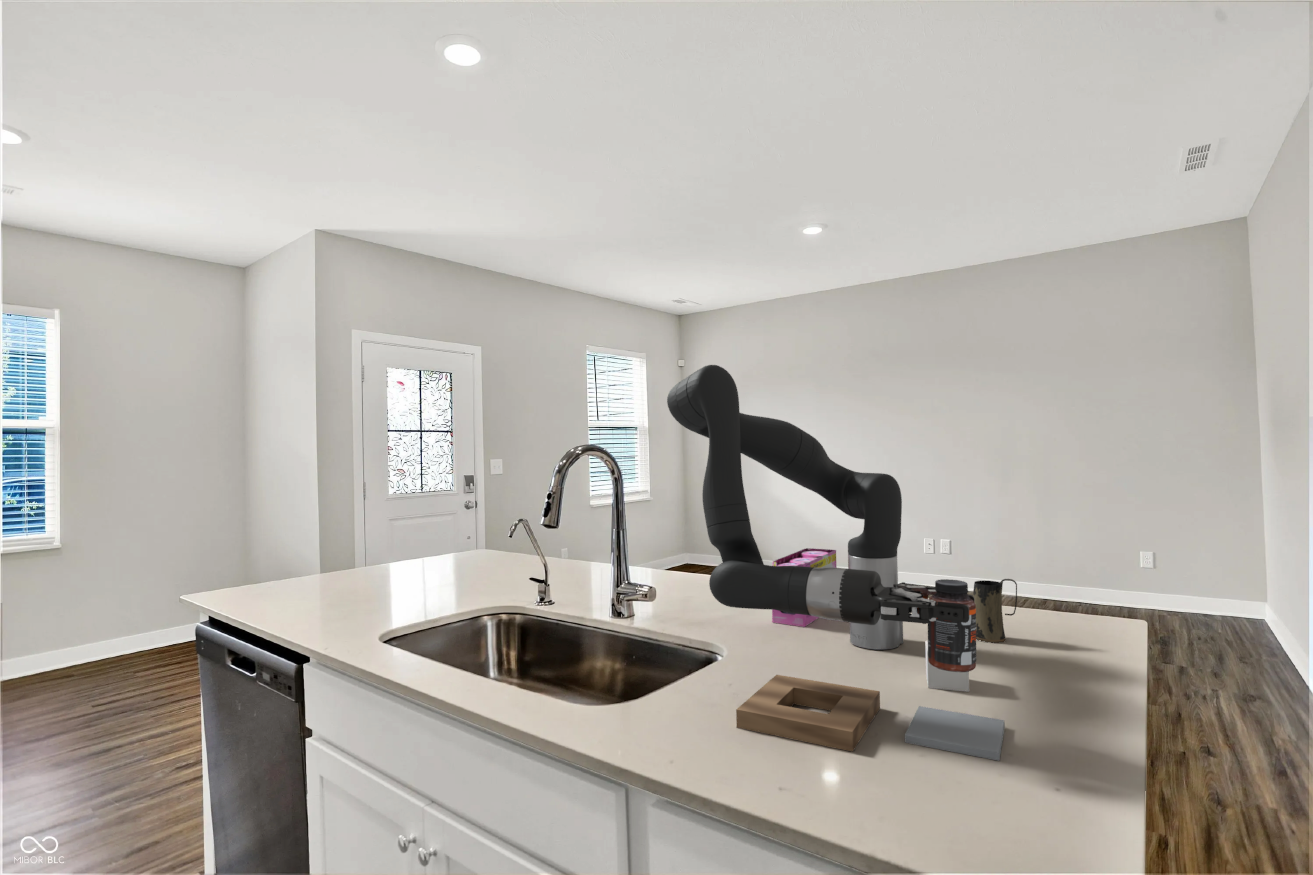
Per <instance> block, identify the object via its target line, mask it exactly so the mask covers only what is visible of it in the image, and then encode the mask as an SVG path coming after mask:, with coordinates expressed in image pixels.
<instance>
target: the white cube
mask: <svg viewBox="0 0 1313 875" xmlns="http://www.w3.org/2000/svg"><path fill="white" fill-rule="evenodd" d="M924 644H925V646H924V647H925V678H926V682H927V688H928V689H935V690H948V691H956V692H957V691H958V692H959V691H960V692H969V693H970V671H969V672H951V671H945V670H941V669H938V668H936V667H934V666H932V665H931V664H930V663H929V661H928V639H927V640H925V642H924Z"/></svg>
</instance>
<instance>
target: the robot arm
mask: <svg viewBox="0 0 1313 875" xmlns="http://www.w3.org/2000/svg"><path fill="white" fill-rule="evenodd" d="M739 398H740V397H739V391H738V387H737V384H736V382H735V380H734V378H733V376H732V374H730V372H729V371H727V369H726V368H724V367H722V366H720V365H716V364H708V365H705V366H703V367H701V368H699V369H697V370H695V371H694V372H692V373H691V374H690V375H688V376H686V377H685V378H684V379H682V380H680V381H678V383H676V384H675V385H674V386H673V387H672V388H671V389H670V390H669V392H668V395H667V399H666V404H667V408H668V410H669V413H670V414H671V416H672V417H673V418H674V419H675V421H676V422H677V423H678V424H680V425H681V426H682V427H684V428H685V429H687V430H689V431H691V432H693V433H695V434H698V435H700V436H702V437H705V438H708V441H709V442H708V443H709V444H708V454H707V461H706V462H707V463H706V467H705V471H704V476H703V477H704V478H703V484H702V494H701V495H702V507H703V513H704V520H705V525H706V531H707V536H708V539H709V542H710V544H711V545H712V546H714V548H716V549H717V550H718V552H719V555H720V558H721V561H722V563H720V564H718V565H717V566H716V567H714V569H713V570H712V572H711V575H710V576H709V585H708V586H709V590H710V592H711V595H712V596H713V597H714V599H715V600H716V601H718V603H720V604H721V605H723V606H726V607H729V608H736V609H748V610H750V609H751V610H752V609H753V610H771V611H772V610H779V611H784V612H788V613H795V614H802V615H810V616H816V617H819V618H820V619H823V620H829V621H836V622H845V623H849V641H850V643H851V644H852V645H854V646H856V647H860V648H863V649H869V650H891V649H895V648H898V647H900V645H901V644H904V623H914V624H917V623H918V624H923V625H927V624H928V623H929V621H937V618H938V620H946V621H955V622H963V623H966V622H968V621H969V606H968V605H966V604H957V603H948V602H938V605H937V602H936V601H934V600H929V596H933V595H935V594H936V593H937V592H936V590H935V586H934V585H933V586H931V585H923V584H916V583H908V582H907V583H906V582H904V581H902V582H899V574H898V573H899V571H898V569H899V568H898V567H899V566H898V547H899V545H900V541H901V535H902V508H903V507H902V506H903V503H902V502H903V500H902V490H901V488H900V484H899V483H898V481H897V479H895V478H894V477H893V476H892V475H891V474H887V473H882V472H881V473H879V472H859V471H854V470H852V469H849V468H846V467H845V466H842V465H840V464H838V463H837V462H835V461H833V460H832V459H831V458H830V457H829V455H828V454H827V452H826V450H825V448H824V447H823V445H822V443H821V442H820V441H819V440H817V439H816V437H814V436H813V435H811V434H810V433H808V432H806V431H805V430H803V429H801V428H800V427H798V426H796V425H795V424H793V423H791V422H788V421H785V420H781V419H777V418H772V417H768V416H767V417H766V416H757V415H751V414H746V413H742V412H740V401H739V400H740V399H739ZM742 455H744V456H746V457H748V458H749V459H751V460H754V461H756V462H757V463H759V464H761V465H762V466H764V467H766V468H767V469H769V470H771V471H772V472H775V474H778V475H780V476H781V477H783V478H785V479H786V480H787V479H788V480H789V481H791V482H793V483H795V484H797V485H799V486H801V487H803V488H805V489H808V490H810V491H812V492H813V493H815V494H817V495H819V496H821V497H822V498H823V499H825V500H826V501H828V502H829V503H831V505H833V506H834V507H835V508H837V509H838V510H840V511H841V512H842V513H844V514H845V515H847V516H849V517H851V518H853V519H857V520H863V521H864V522H863V531H862V533H861V534H859V535H858V536H856V537H852V538H850V539H849V540H848V542H847V567H848V568H845V567H844V568H842V567H837V568H833V567H823V568H814V567H803V566H772V565H768V564H764V561H763V558H762V555H761V553H760V549H759V547H758V544H757V541H756V540H755V538H754V534H753V532H752V527H751V525H752V524H751V521H750V520H751V519H750V515H749V510H748V504H747V499H746V494H745V488H744V487H745V486H744V482H743V481H744V480H743V472H742V471H743V470H742V469H743V468H742ZM967 594H968V593H967ZM968 596H969V597H970V599H972V600H973V601H974V603H975V598H974V596H973V594H968Z"/></svg>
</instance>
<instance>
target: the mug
mask: <svg viewBox="0 0 1313 875" xmlns="http://www.w3.org/2000/svg"><path fill="white" fill-rule="evenodd" d="M1005 581H1010V582H1013V583H1014V584H1015V604H1014V610H1013V613H1004V615H1005V616H1010V617H1011V616H1014V615H1015V614H1016V610H1017V600H1018V584H1017V581H1016V580H1014V579H1012V578H1004V579H1001V581H995V580H976V581H974V583H973V591H972V592H973V594H972V595H973V596H974V598H975V604H976V639H978V640H977V641H979V640H981V641H980V642H982V641H985V642H984V643H988V642H991V643H990V644H993V642H994V644H1000V643H999V642H1002V643H1005V642H1006V641H1005V640H1006V639H1007V638H1006V633H1005V628H1004V619H1003V618H1004V617H1003V603H1002V602H1003V598H1002V597H1003V596H1002V594H1003V583H1004V582H1005ZM1004 641H1005V642H1004Z"/></svg>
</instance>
